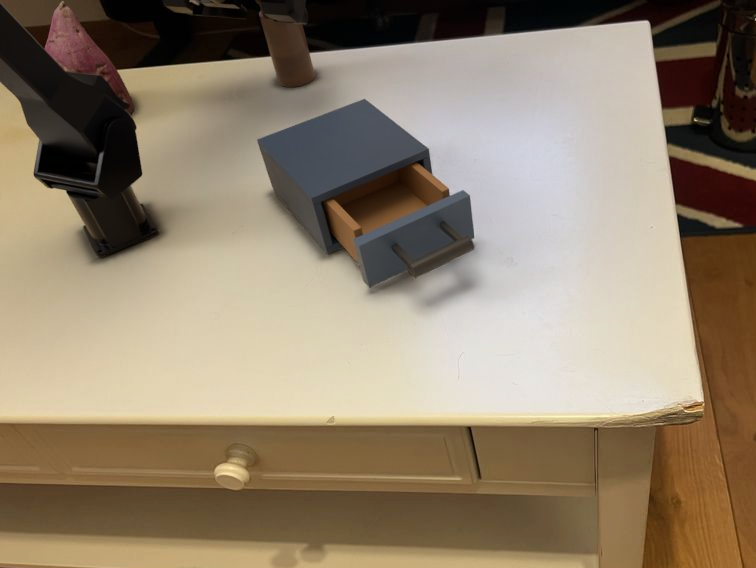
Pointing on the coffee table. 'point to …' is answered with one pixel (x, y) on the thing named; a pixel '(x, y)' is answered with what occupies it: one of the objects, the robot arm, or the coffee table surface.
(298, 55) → the pepper mill
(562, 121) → the coffee table surface
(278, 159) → the cabinet
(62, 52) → the vegetable
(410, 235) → the drawer
